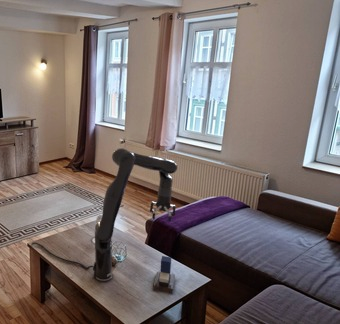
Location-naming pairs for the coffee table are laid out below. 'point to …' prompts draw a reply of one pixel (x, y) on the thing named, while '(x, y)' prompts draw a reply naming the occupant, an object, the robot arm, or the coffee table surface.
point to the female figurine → (97, 222)
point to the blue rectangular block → (165, 271)
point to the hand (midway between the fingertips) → (161, 220)
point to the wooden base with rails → (164, 288)
